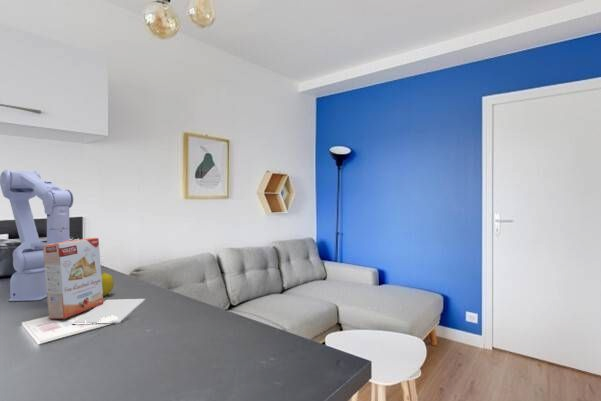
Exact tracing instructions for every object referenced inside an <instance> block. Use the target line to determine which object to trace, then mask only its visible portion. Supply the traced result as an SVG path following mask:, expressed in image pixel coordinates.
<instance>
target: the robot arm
mask: <svg viewBox="0 0 601 401" xmlns="http://www.w3.org/2000/svg"><path fill="white" fill-rule="evenodd" d="M52 182H53V181H52V180H42V178H41V174H40V172H38V171H24V170H23V171H20V170H8V169H4V170H3V171H2V172H1V173H0V189H1V193H2V195H3V197H4V198H6V199H8V200H9V202H10V208H11V211H12V215H13V218H14V222H15V226H16V228H17V230H16V231H17V233H18V236H19V237H18V238H19V241H20V245H19V246H17V247H16V248H14V250H13V252H12V259H13V260H12V265H13V268H14V270H15V272H14V273H13V274H12V275H11V277H10V280H9V298H8V302H27V301H42V300H43V299H45V298H47V290H46V278H45V265H44V253H43V245H47V244H53V243H60V242H64V241H70V208H72V206H73V205H74V196H73V192H72V191H71V190H70V189H64V190H63V189H61V188H60V187H59V186H57V185H55V184H53V183H52ZM35 197H37V198H38V199H40V200H41V201H42V205H43V208H44V214H45V215H46V241H42V240H40V238H39V233H38V230H37V226H36V223H35V219H34V216H33V212H32V208H31V205H30V201H29V200H31V199H33V198H35Z"/></svg>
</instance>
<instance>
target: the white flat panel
mask: <svg viewBox="0 0 601 401" xmlns="http://www.w3.org/2000/svg"><path fill="white" fill-rule="evenodd" d="M145 301H146V298H124V299H120V298H118V299H106V300H103V302H104V303H103V304H100V305H98V306H95V307H93V309H92V308H91V309H90V311H88V312H86V313H85V314H84V315H82V316H80V317H79V318H77V319H76V320H74V321H73V322H72V323H85V320H86V322H87V323H97V322H99V320H100V321H101V319H102V318H103V317H105V318H106V317H108V316H110V317H111V315H114V316H117V317H118V320H114V321H113V320H112V321H110V322H112V323H115V324H121V323H122V322H123V321H124V320H125V319H126V318H128V317H129V316H130V314H132V313H133V312H134V311H135V310H136V309H137V308H138V307H140V306H141V305H142V304H143V303H144V302H145ZM100 318H101V319H100ZM122 320H123V321H122ZM121 321H122V322H121Z"/></svg>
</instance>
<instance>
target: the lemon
mask: <svg viewBox="0 0 601 401" xmlns="http://www.w3.org/2000/svg"><path fill="white" fill-rule="evenodd" d="M101 277H102V289H103V297H106V296H107V295H108V294H109V293H111V292H112V290H113V289H114V284H115V282H114V278H113V276H112V275H111V274H109V273H106V272H103V273H101Z"/></svg>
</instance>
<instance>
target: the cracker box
mask: <svg viewBox="0 0 601 401" xmlns="http://www.w3.org/2000/svg"><path fill="white" fill-rule="evenodd" d="M43 253H44V265H45V278H46V290H47V297H46V299H47V302H46V303H47V312H48V319H49V320H56V319H57V320H64V319H67V318H70V317H72V316H75V315H77V314H80V313H82V312H84V311H87V310H91V309H92V308H93V309H94V308H95V307H97V306H98V305H100V304H103V303H104V296H103V289H102V277H101V274H102V268H101V267H102V266H101V254H100V253H101V252H100V241H99V238H98V237H91V238H89V237H88V238H81V239H74V240H69V241H64V242H60V243H53V244H47V245H43Z"/></svg>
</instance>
